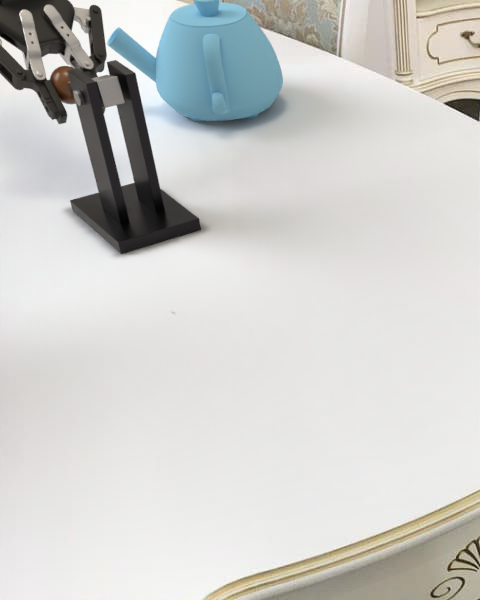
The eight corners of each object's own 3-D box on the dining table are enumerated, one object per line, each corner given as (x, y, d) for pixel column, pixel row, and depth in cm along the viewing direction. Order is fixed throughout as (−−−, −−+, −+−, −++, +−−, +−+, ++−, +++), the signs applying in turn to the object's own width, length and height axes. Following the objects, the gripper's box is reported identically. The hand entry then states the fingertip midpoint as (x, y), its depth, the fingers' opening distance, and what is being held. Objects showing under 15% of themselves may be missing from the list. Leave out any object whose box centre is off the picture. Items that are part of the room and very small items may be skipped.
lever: (52, 106, 117) (39, 69, 115) (84, 99, 118) (72, 61, 116) (99, 116, 107) (87, 75, 105) (134, 108, 109) (122, 67, 107)
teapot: (291, 134, 133) (277, 19, 124) (120, 145, 130) (92, 28, 121) (281, 75, 147) (267, -33, 138) (125, 84, 144) (101, -25, 135)
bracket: (72, 211, 118) (31, 63, 108) (150, 189, 122) (118, 44, 112) (121, 253, 112) (82, 101, 101) (201, 229, 116) (172, 80, 105)
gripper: (-68, -57, 107) (19, 112, 109) (71, -79, 114) (151, 81, 116) (-67, -9, 114) (15, 149, 116) (65, -33, 120) (140, 117, 122)
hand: (82, 114), depth 116 cm, fingers closed on lever, 3 cm apart
